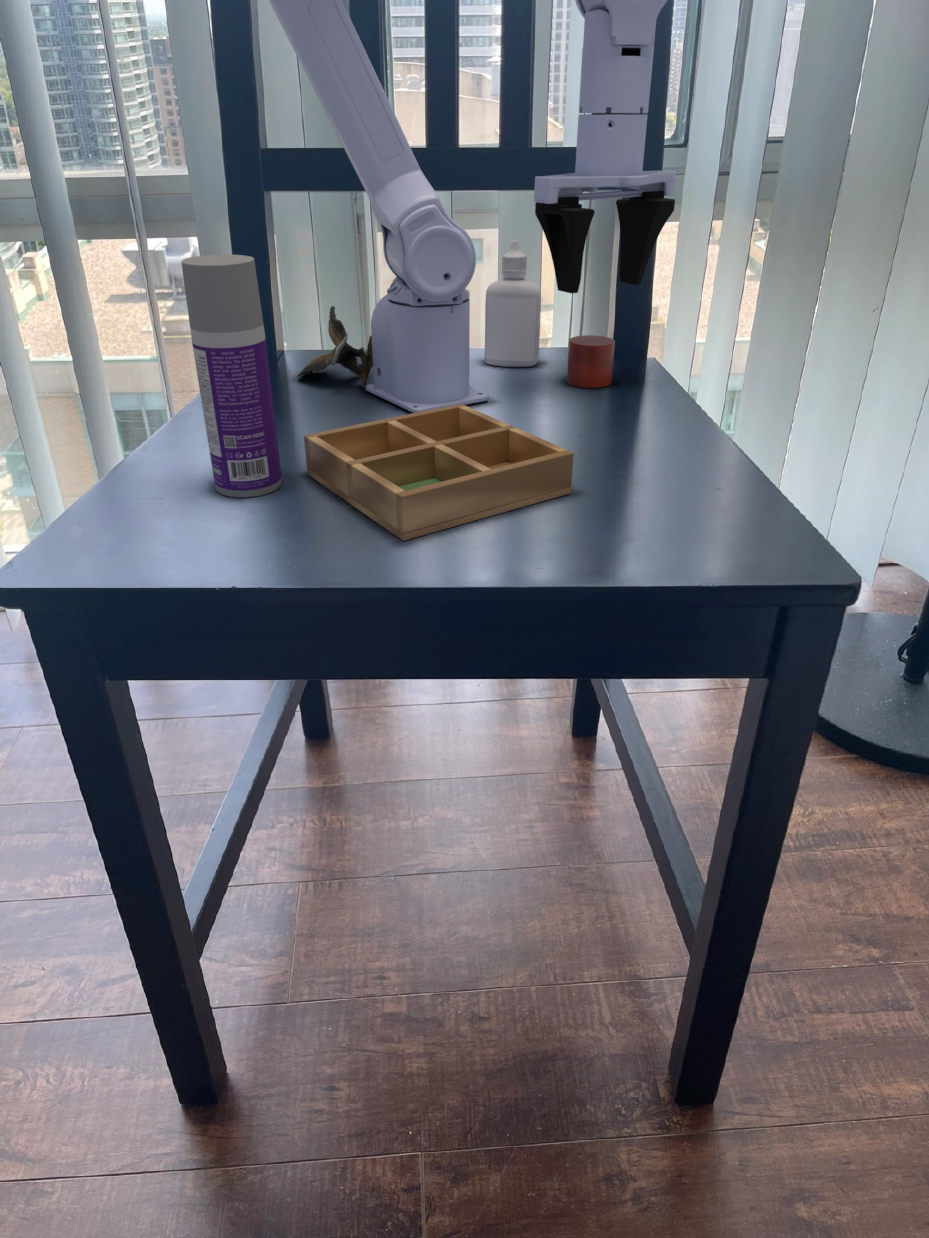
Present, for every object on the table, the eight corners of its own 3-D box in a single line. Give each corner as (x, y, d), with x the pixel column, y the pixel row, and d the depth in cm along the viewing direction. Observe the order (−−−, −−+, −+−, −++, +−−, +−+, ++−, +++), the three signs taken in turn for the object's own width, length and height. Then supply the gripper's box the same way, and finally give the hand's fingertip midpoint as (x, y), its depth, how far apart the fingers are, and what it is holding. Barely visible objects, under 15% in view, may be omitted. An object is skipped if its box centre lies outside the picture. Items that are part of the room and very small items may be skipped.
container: (294, 477, 62) (270, 256, 55) (260, 501, 58) (229, 267, 51) (238, 469, 64) (207, 252, 56) (202, 492, 60) (163, 263, 52)
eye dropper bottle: (520, 372, 87) (525, 245, 81) (477, 363, 90) (478, 240, 84) (545, 363, 90) (551, 240, 84) (502, 355, 93) (505, 236, 87)
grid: (307, 474, 63) (303, 435, 61) (461, 439, 69) (461, 403, 68) (403, 541, 53) (401, 496, 52) (571, 493, 60) (574, 452, 58)
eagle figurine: (406, 363, 85) (341, 335, 89) (384, 309, 79) (316, 281, 83) (359, 418, 83) (295, 387, 87) (332, 367, 77) (265, 336, 81)
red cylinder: (557, 380, 85) (559, 339, 83) (590, 373, 87) (593, 333, 85) (587, 390, 82) (590, 348, 80) (620, 383, 84) (624, 341, 82)
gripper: (577, 115, 65) (566, 303, 72) (709, 114, 72) (688, 285, 79) (521, 114, 70) (516, 290, 77) (649, 114, 77) (634, 275, 84)
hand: (599, 287), depth 78 cm, fingers open, 7 cm apart
